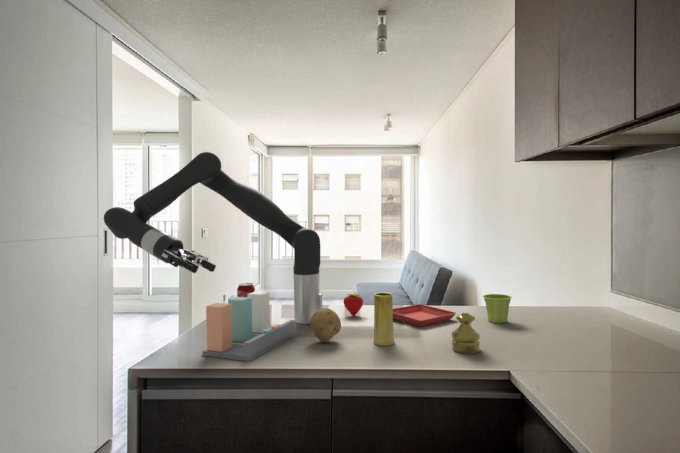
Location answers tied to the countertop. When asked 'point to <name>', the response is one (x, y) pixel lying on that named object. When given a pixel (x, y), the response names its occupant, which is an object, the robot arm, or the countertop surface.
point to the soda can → (245, 289)
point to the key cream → (260, 311)
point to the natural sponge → (325, 324)
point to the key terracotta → (219, 327)
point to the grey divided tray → (257, 343)
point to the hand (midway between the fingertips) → (205, 269)
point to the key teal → (241, 318)
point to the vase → (383, 319)
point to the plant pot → (497, 307)
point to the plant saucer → (421, 315)
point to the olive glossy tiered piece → (465, 335)
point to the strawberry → (353, 303)
